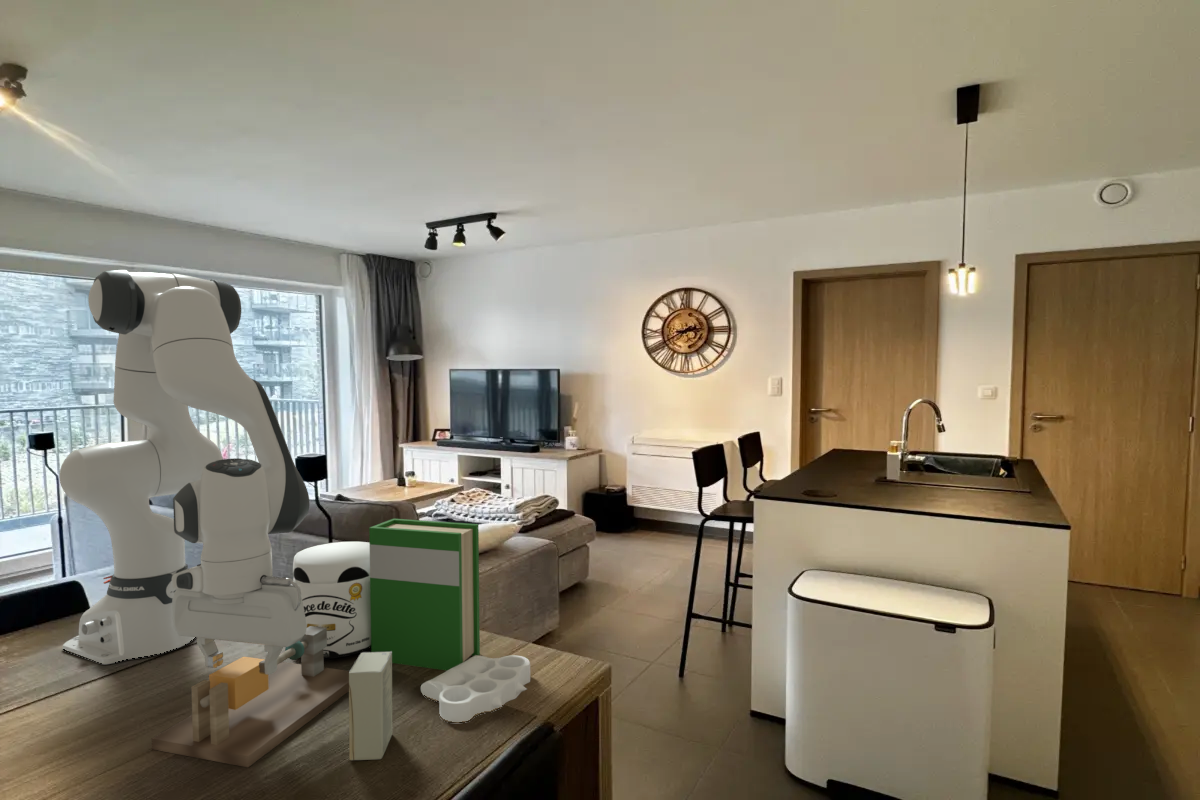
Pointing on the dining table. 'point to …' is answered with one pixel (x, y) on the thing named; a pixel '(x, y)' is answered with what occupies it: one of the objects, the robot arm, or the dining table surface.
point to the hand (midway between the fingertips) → (240, 669)
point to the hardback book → (425, 592)
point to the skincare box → (370, 705)
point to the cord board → (258, 708)
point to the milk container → (337, 594)
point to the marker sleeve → (241, 681)
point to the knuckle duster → (478, 686)
